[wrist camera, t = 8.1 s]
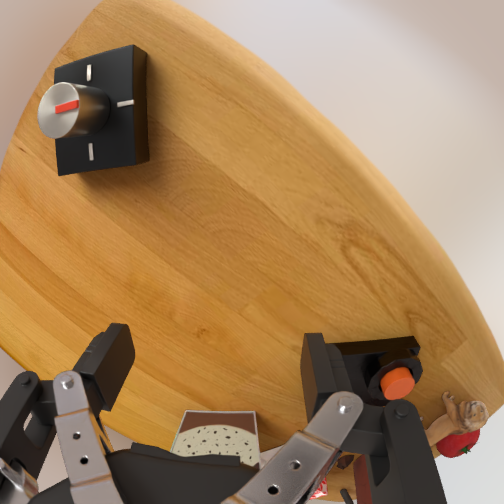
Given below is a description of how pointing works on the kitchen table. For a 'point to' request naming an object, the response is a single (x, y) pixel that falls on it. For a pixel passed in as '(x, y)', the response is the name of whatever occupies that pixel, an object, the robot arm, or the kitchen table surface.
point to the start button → (397, 383)
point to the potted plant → (357, 480)
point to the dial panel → (120, 116)
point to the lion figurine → (457, 419)
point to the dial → (72, 110)
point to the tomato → (457, 444)
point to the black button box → (378, 364)
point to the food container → (219, 435)
